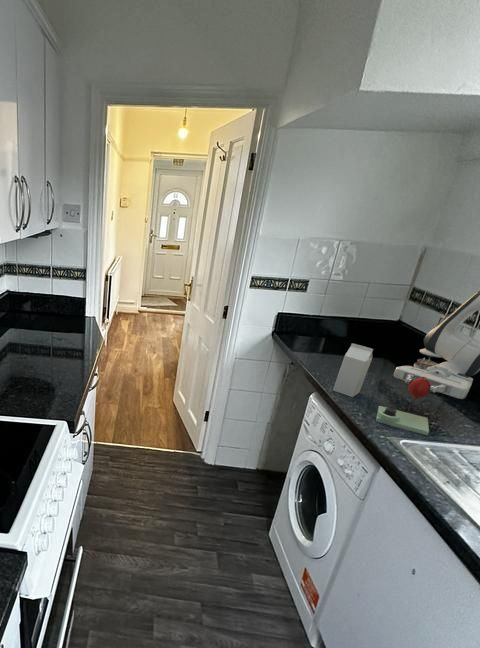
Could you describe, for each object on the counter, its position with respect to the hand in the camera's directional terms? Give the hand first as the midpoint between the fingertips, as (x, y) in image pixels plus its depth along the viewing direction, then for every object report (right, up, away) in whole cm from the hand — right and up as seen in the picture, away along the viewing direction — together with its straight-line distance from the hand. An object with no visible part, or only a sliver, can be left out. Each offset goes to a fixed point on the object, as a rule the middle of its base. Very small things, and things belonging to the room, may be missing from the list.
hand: (419, 385), depth 132 cm
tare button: (-7, -10, +4) cm, 13 cm away
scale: (-2, -12, +5) cm, 13 cm away
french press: (+28, 0, +37) cm, 46 cm away
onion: (0, -5, +3) cm, 5 cm away
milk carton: (-9, -3, +25) cm, 27 cm away
